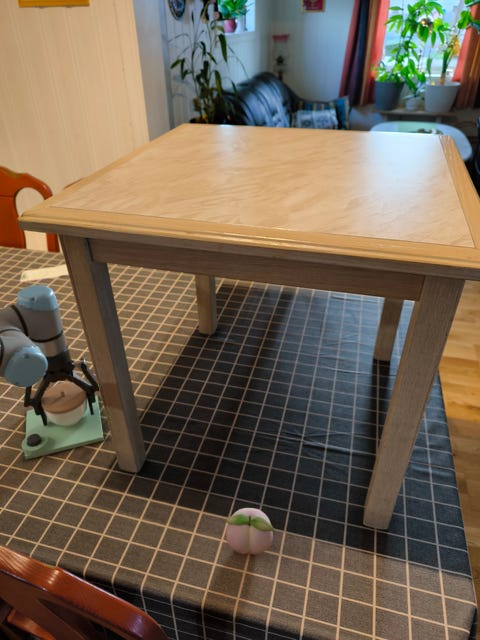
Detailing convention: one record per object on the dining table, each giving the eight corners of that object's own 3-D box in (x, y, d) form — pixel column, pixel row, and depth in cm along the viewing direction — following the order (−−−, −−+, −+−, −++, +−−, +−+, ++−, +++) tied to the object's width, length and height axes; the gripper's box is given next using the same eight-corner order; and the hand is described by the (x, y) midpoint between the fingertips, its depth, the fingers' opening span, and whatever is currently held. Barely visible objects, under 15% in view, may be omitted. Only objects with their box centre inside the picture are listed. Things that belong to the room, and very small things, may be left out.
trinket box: (69, 398, 121) (62, 372, 116) (99, 411, 117) (93, 384, 112) (38, 424, 113) (29, 397, 108) (70, 439, 109) (62, 411, 104)
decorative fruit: (271, 527, 92) (274, 497, 87) (272, 566, 85) (275, 537, 80) (226, 525, 93) (226, 495, 87) (223, 564, 86) (223, 534, 80)
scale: (24, 463, 105) (21, 453, 103) (27, 416, 118) (23, 406, 116) (104, 443, 110) (102, 433, 108) (98, 400, 123) (96, 391, 121)
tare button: (28, 448, 105) (26, 443, 104) (28, 439, 107) (27, 435, 106) (41, 445, 106) (39, 440, 105) (41, 436, 108) (39, 432, 107)
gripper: (100, 330, 109) (113, 397, 121) (-3, 349, 102) (21, 417, 114) (103, 347, 103) (116, 415, 115) (-6, 368, 96) (20, 438, 108)
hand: (69, 416), depth 115 cm, fingers closed on trinket box, 11 cm apart
